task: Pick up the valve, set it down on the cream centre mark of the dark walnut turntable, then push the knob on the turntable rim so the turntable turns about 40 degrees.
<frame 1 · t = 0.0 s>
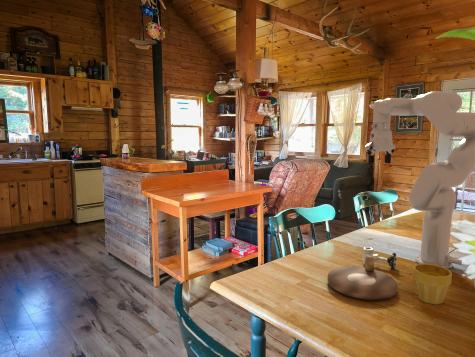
hand: (379, 163, 159), 37 cm above the table, tool pointing down, fingers open, 9 cm apart
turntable: (361, 274, 112), point 4 cm above the table, hinge at 0.0°
plant pot: (430, 299, 104), on the table
valve: (377, 266, 131), on the table
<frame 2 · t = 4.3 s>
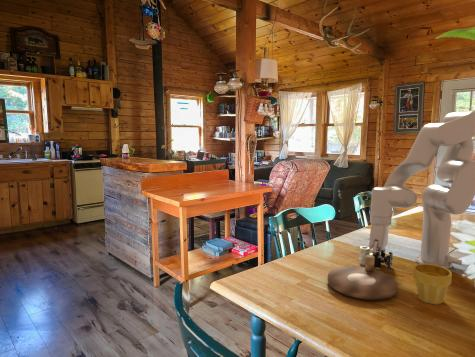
hand: (378, 264, 130), 1 cm above the table, tool pointing down, fingers closed on valve, 5 cm apart
valve: (374, 266, 131), on the table, touching gripper
everything else where it was.
when the fingers open (5 cm above the table, at t = 10.8 s): valve drops 2 cm, resting on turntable.
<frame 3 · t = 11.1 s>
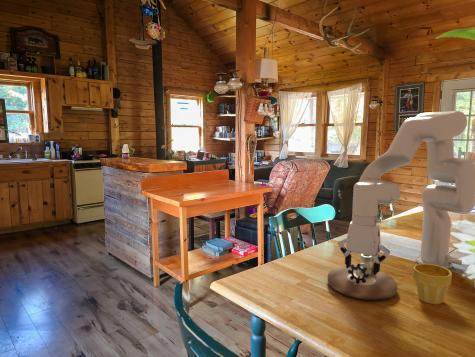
hand: (361, 269, 112), 6 cm above the table, tool pointing down, fingers open, 8 cm apart
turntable: (361, 274, 112), point 4 cm above the table, hinge at 0.0°, touching valve
valve: (362, 277, 114), point 3 cm above the table, touching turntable
everything else where it was.
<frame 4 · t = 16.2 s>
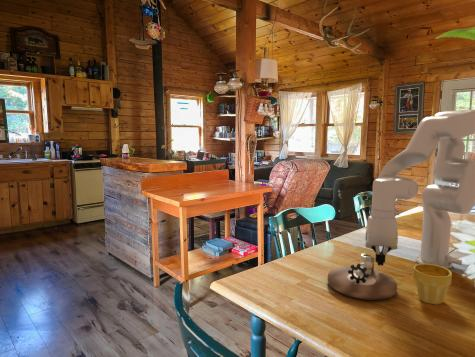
hand: (380, 264, 119), 5 cm above the table, tool pointing down, fingers closed
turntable: (361, 274, 112), point 4 cm above the table, hinge at 0.3°, touching valve, gripper
everything else where it was.
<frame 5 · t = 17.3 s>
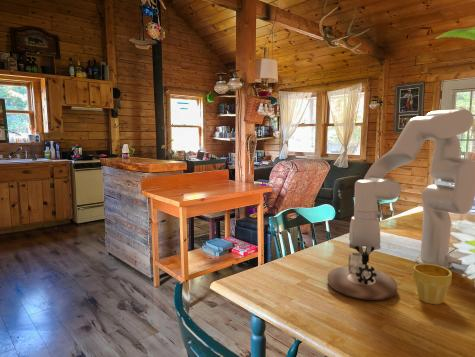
hand: (364, 263, 121), 5 cm above the table, tool pointing down, fingers closed
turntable: (361, 274, 112), point 4 cm above the table, hinge at 35.0°, touching valve, gripper
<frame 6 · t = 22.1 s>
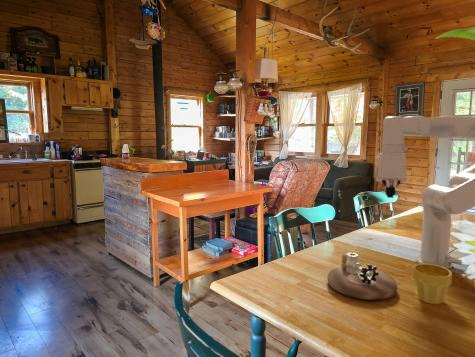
hand: (389, 197, 129), 27 cm above the table, tool pointing down, fingers closed
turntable: (361, 274, 112), point 4 cm above the table, hinge at 50.4°, touching valve
at the end: valve 1.5 cm from the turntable (horizontally); valve touching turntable; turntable at +50° (first picture: +0°) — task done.
